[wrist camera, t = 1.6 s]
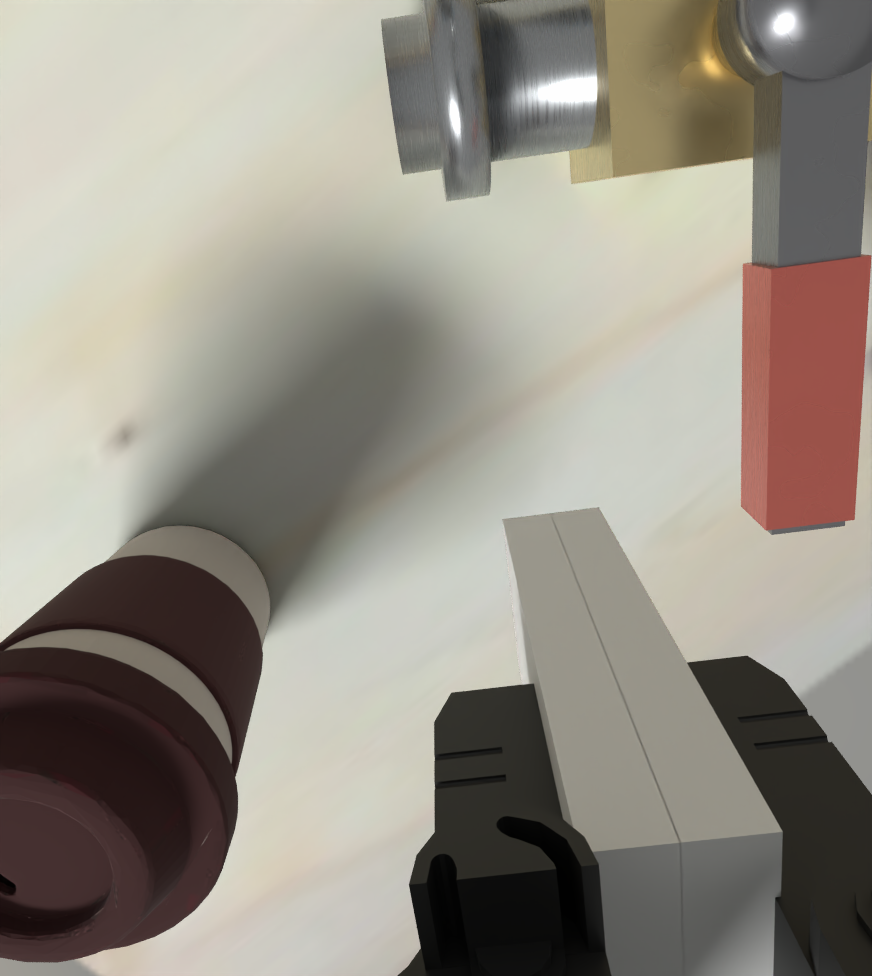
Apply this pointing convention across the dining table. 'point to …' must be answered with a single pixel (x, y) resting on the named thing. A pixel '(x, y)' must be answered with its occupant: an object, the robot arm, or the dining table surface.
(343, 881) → the dining table surface
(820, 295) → the lever
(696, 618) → the dining table surface
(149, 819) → the coffee cup
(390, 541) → the dining table surface
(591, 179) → the valve
